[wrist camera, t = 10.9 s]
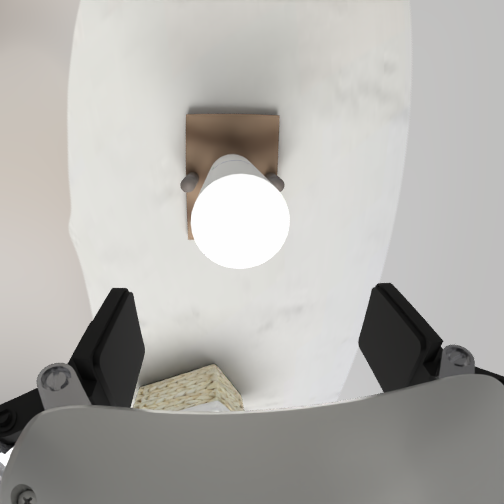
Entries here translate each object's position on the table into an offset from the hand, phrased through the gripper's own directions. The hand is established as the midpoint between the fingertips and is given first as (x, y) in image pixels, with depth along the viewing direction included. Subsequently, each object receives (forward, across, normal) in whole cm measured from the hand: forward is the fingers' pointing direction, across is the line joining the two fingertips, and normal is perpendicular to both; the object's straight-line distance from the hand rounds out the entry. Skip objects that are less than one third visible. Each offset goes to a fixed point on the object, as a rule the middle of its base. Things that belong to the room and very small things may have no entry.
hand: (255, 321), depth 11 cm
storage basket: (+38, +10, +50) cm, 64 cm away
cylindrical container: (+36, 0, 0) cm, 37 cm away
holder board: (+38, 0, 0) cm, 38 cm away
